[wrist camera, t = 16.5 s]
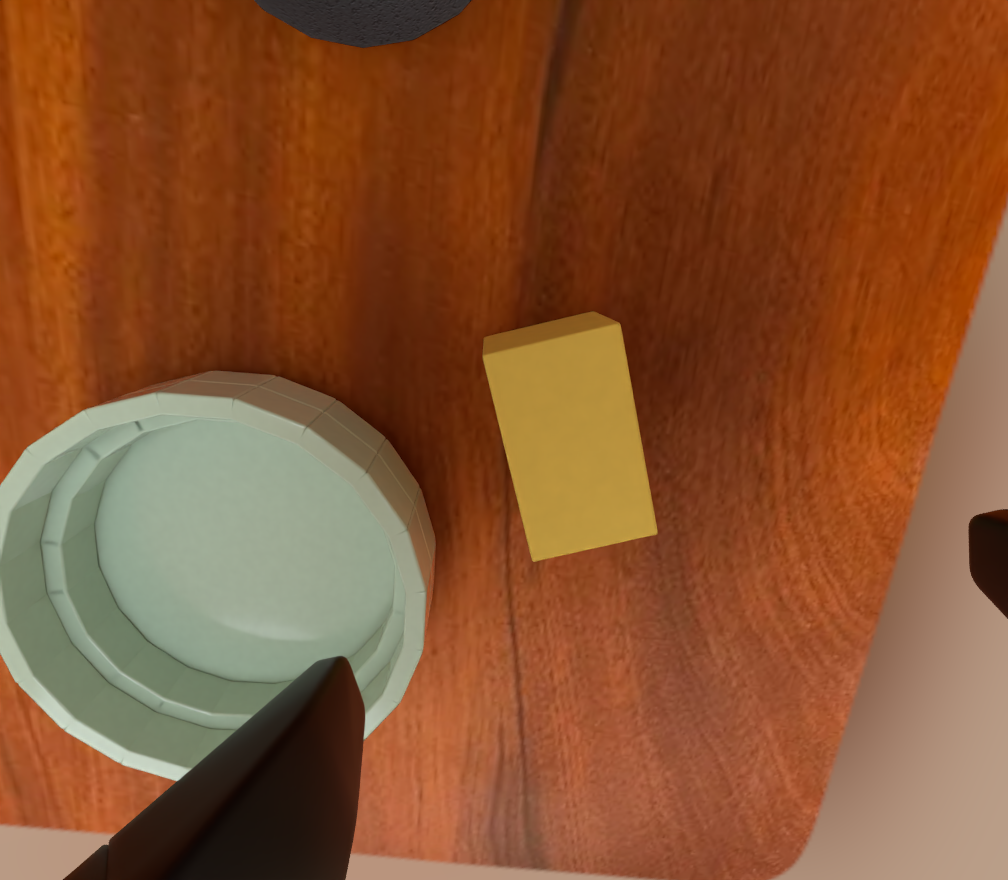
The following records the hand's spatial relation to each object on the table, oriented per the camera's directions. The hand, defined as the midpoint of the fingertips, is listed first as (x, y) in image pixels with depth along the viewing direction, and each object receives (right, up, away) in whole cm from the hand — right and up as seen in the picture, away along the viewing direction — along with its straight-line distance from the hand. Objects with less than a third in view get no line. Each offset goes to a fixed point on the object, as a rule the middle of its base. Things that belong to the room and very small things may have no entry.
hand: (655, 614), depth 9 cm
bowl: (-11, -1, +12) cm, 16 cm away
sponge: (0, +3, +11) cm, 12 cm away
